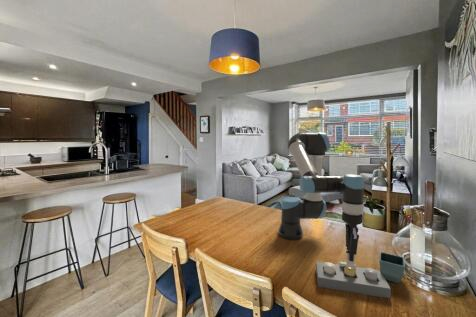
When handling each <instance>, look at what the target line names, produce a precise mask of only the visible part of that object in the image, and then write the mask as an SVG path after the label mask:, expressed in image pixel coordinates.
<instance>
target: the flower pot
mask: <svg viewBox="0 0 476 317" xmlns="http://www.w3.org/2000/svg"><path fill="white" fill-rule="evenodd" d="M405 268H406V264H405V257H403V256H400V255H395V254H391V253H387V252H382V251H380V252H379V270H380V272H381V273H382V275H383V277H384V278H385V280H386V281H390V282H394V283H396V284H398V283H400V282H401V281H402V280H403V277H404V274H405Z"/></svg>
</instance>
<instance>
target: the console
mask: <svg viewBox="0 0 476 317" xmlns="http://www.w3.org/2000/svg"><path fill="white" fill-rule="evenodd" d="M324 263H325V262H324V261H323V262H322V261H315V272H316V273H315V274H316V280H317V287H319V288H326V289H332V290H337V291H344V292H349V293H357V294H361V295H367V296H373V297H379V298H385V299H391V294H392V289H391V287H390V284H389V283H388V282H387V281H388V280H386V279H385V278H384V277H383V275H382V273H381V271H380V269H379V270H378V269H375V270H376V271H377V272H378V276H377V281H372V280H366V278H365V269H366V268H367V267H358V266H356V278H352V277H346V276H344V267H340V263H339V264H338V263H333V264H334V265H335V275H333V274H326V273H324Z"/></svg>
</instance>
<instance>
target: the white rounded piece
mask: <svg viewBox="0 0 476 317" xmlns="http://www.w3.org/2000/svg"><path fill="white" fill-rule="evenodd" d="M334 264H335V263H332V262H329V261H328V262H324V273H326V274H333V275H335V265H334Z"/></svg>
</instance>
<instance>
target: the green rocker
mask: <svg viewBox="0 0 476 317" xmlns="http://www.w3.org/2000/svg"><path fill="white" fill-rule="evenodd" d="M339 265H340V267H344V266H345V265H346V261H339ZM354 267H355V268H356V267H357V265H356V263H354Z"/></svg>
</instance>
